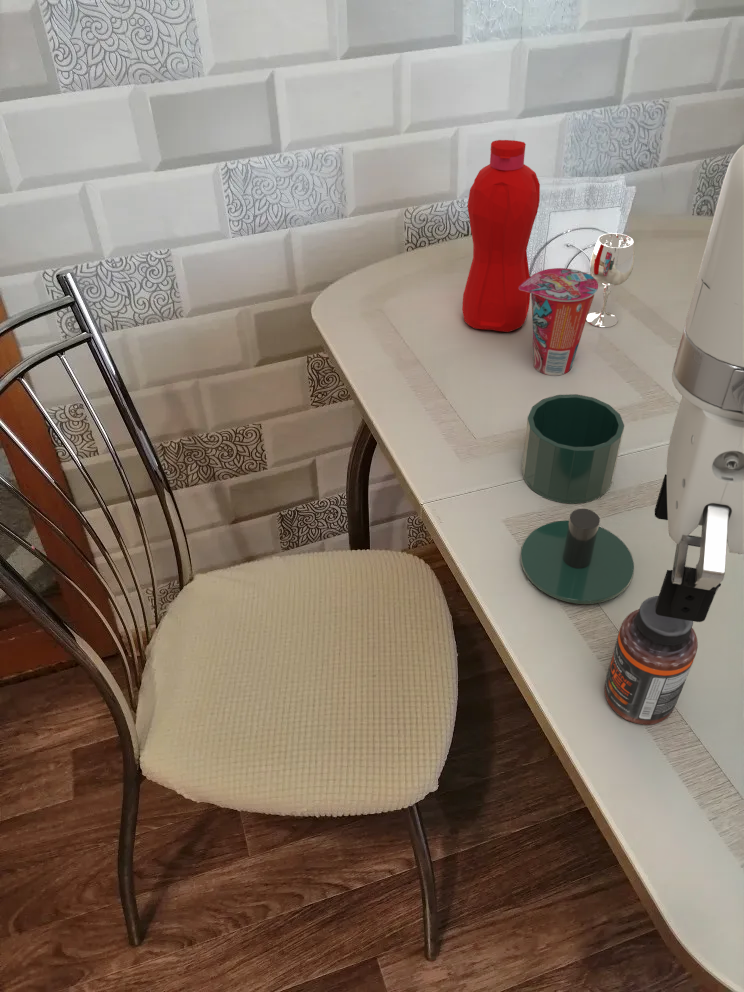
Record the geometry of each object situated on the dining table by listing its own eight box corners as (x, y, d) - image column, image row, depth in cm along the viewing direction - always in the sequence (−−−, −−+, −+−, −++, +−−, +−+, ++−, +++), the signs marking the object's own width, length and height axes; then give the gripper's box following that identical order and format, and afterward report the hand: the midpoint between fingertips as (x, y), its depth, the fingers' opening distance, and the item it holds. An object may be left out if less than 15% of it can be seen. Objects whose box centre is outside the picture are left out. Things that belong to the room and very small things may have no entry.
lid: (617, 526, 84) (629, 479, 79) (644, 607, 76) (658, 559, 71) (513, 529, 84) (518, 482, 80) (528, 609, 76) (535, 562, 72)
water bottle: (532, 300, 120) (551, 126, 104) (522, 337, 112) (541, 156, 96) (471, 294, 122) (480, 123, 106) (458, 330, 115) (465, 151, 98)
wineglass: (629, 325, 114) (646, 245, 106) (593, 332, 113) (607, 252, 105) (609, 307, 118) (624, 228, 110) (574, 313, 117) (586, 235, 109)
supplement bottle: (589, 679, 70) (611, 595, 62) (649, 661, 71) (677, 575, 64) (626, 737, 66) (654, 653, 58) (688, 716, 67) (724, 631, 59)
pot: (601, 445, 94) (612, 393, 89) (620, 502, 87) (633, 448, 82) (516, 447, 94) (522, 395, 89) (528, 504, 87) (535, 451, 82)
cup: (553, 341, 111) (564, 261, 103) (597, 368, 106) (613, 286, 98) (502, 363, 108) (509, 281, 100) (545, 392, 102) (556, 308, 94)
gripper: (840, 466, 39) (741, 671, 51) (794, 298, 52) (723, 493, 63) (681, 446, 41) (620, 649, 52) (673, 287, 53) (625, 480, 65)
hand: (676, 564), depth 58 cm, fingers open, 9 cm apart
